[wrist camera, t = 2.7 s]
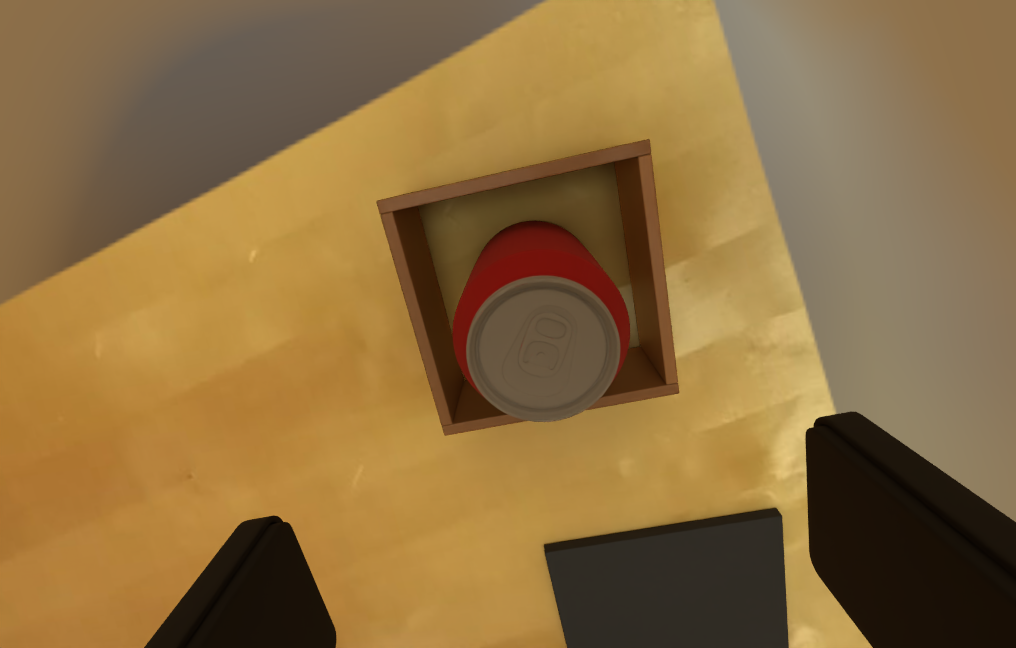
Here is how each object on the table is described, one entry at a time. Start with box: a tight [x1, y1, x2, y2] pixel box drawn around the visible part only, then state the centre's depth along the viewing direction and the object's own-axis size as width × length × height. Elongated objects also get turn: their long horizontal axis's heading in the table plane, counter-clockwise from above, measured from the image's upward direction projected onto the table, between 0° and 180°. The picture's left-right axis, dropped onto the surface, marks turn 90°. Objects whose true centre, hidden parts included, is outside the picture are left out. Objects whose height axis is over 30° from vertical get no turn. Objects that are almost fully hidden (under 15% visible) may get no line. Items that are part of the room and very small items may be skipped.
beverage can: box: [453, 221, 630, 422], centre depth 22 cm, size 7×7×12 cm
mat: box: [544, 508, 789, 648], centre depth 35 cm, size 16×16×1 cm
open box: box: [377, 139, 679, 436], centre depth 25 cm, size 12×12×6 cm
